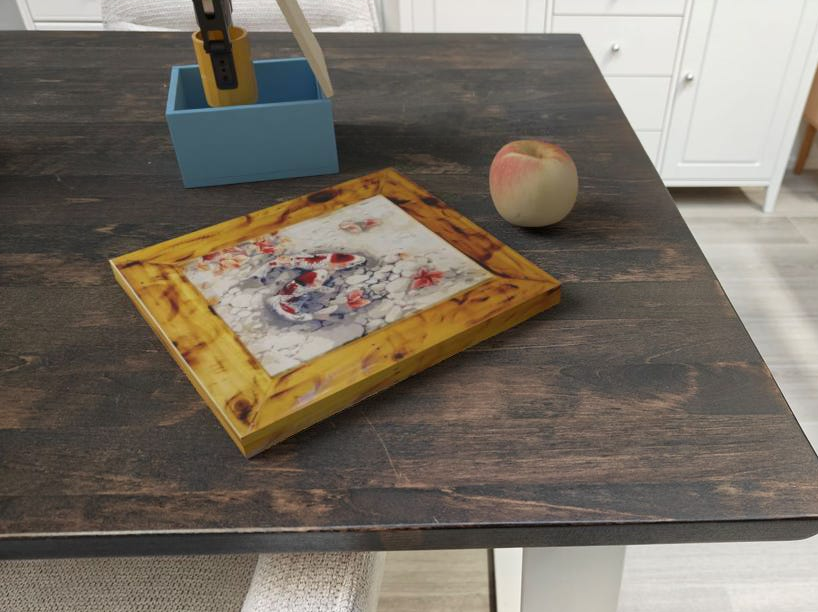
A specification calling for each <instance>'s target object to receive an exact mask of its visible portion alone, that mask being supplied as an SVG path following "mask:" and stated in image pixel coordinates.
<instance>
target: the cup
mask: <svg viewBox="0 0 818 612" xmlns="http://www.w3.org/2000/svg"><path fill="white" fill-rule="evenodd" d="M229 32H230V38H231V43H233V48H234V49H232V50H233V52H232V53H233V58H234V63H235V68H236V73H237V78H238V87H237V88H236V89H230V90H220V89H218V88H217V86H216V81H215V77H214V72H213V68H212V63H211V58H210V54H206V51H205V50H204V48H203V45H204V43H203V39H202V35H201V31H200V29H198V30H196V31H194V32H193V33H192V34H191V40H192V44H193V49H194V53H195V57H196V61H197V65H198V66H199V70H200V75H201V79H202V83H203V88H204V92H205V96H206V100H207V103H208V105H209V106H211V107H213V108H217V107H230V106H243V105H253V104H255V103H256V102H257V101H258V100H259V91H258V86H257V80H256V75H255V69H254V64H253V61H254V60H253V53H252V49H251V41H250V36H249V33H248V31H247V29H246V28H243V27H241V26H237V25H236V26H235V25H233V26H232V27H231V28H230V29H229ZM209 33H210V39H211V40H219V39H224V38H223V33H222V32H221V31H219V30H218V31H209Z"/></svg>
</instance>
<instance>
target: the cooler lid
mask: <svg viewBox="0 0 818 612" xmlns="http://www.w3.org/2000/svg"><path fill="white" fill-rule="evenodd" d="M275 2H276V4H277V5H278V7H279V10H280V11H281V13H282V15H283V17H284V19H285V21H286V23H287V25H288V26H289V28H290V31H291V32H292V35H293V36H294V38H295V40H296V42H297V44H298V46H299V48H300V49H301V51H302V53H303V55H304V57H306V59H307V61H308V63H309V65H310V67H311V69H312V71H313V72H314V74H315V76H316V78H317V80H318V82H319V84H320V86H321V88H322V90H323V92H324V94H325V95H326V97H327V98H329V97H330V98H331V97H333V96H334V90H333V87H332V83H331V79H330V76H329V71H328V67H327V64H326V61H325V57H324V53H323V50H322V48H321V46H320V44H319V41H318V39H317V38H316V36H315V33H314V32H313V30H312V28H311V26H310V24H309V23H308V20H307V19H306V16H305V14H304V12H303V10H302V8H301V6H300V4H299V3H298V0H275Z"/></svg>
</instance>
